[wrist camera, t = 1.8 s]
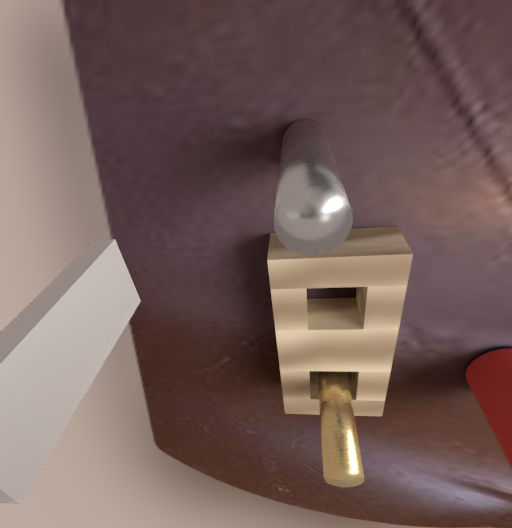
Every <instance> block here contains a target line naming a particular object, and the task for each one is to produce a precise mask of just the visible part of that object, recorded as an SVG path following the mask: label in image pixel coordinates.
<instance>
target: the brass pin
mask: <svg viewBox="0 0 512 528" xmlns="http://www.w3.org/2000/svg"><path fill="white" fill-rule="evenodd" d="M317 383H318V398H319V412H320V427H321V442H322V456H323V471H324V480H325V481H326V482H327V483H329V484H331V485H334V486H338V487H354V486H358V485H360V484H362V483H363V482H364V473H363V467H362V461H361V454H360V448H359V442H358V436H357V429H356V423H355V417H354V411H353V404H352V398H351V392H350V386H349V379H348V373H347V372H334V371H317Z"/></svg>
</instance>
